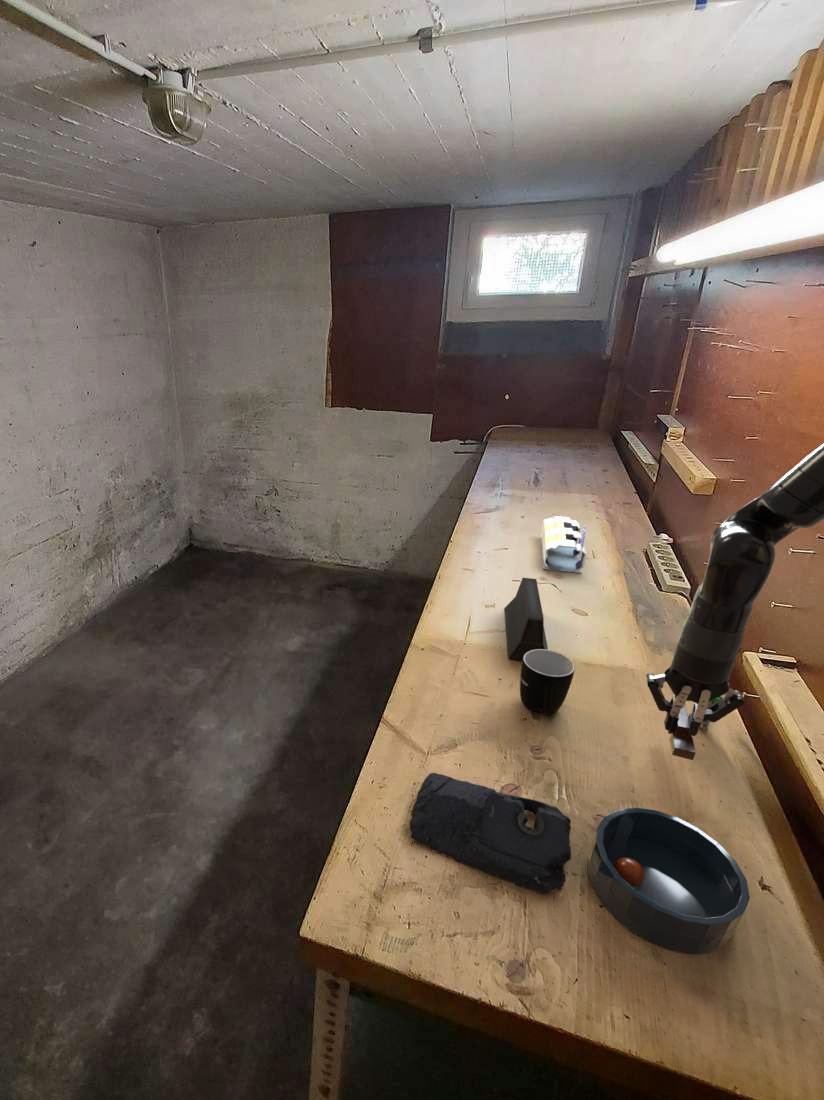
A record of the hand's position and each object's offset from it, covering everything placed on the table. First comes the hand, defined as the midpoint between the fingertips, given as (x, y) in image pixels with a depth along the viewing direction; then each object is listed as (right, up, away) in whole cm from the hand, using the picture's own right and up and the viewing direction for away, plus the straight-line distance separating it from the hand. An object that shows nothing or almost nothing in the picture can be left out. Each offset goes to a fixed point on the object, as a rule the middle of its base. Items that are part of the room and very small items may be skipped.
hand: (678, 732), depth 94 cm
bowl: (-16, -16, -19) cm, 29 cm away
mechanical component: (+10, -2, +9) cm, 14 cm away
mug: (-17, 0, +14) cm, 22 cm away
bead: (-20, -13, -19) cm, 31 cm away
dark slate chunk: (-36, -12, -9) cm, 39 cm away
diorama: (+18, +33, +78) cm, 86 cm away
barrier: (-9, +12, +39) cm, 41 cm away
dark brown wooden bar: (0, 0, 0) cm, 0 cm away
